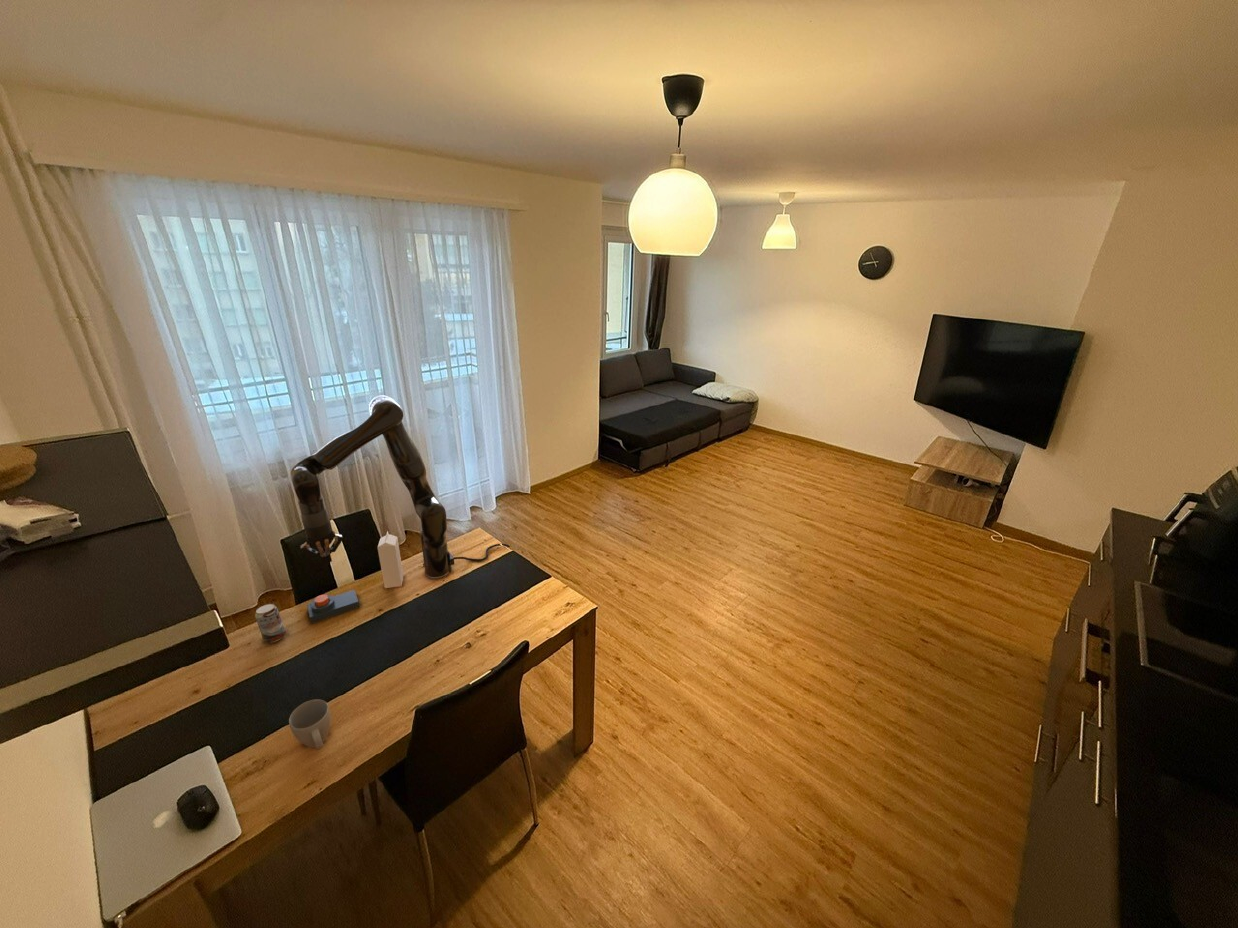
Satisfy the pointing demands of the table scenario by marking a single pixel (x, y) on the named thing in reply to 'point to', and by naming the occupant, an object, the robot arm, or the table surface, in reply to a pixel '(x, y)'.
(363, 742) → the table surface
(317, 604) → the release button
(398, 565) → the milk
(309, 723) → the mug
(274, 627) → the beverage can
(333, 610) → the button base
